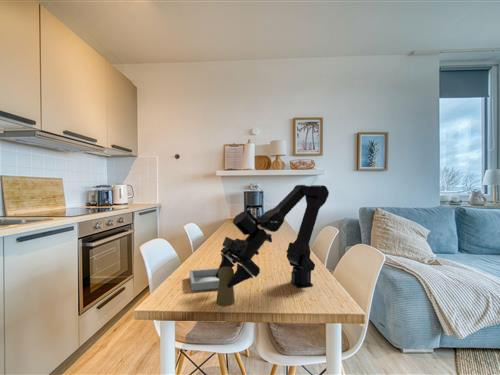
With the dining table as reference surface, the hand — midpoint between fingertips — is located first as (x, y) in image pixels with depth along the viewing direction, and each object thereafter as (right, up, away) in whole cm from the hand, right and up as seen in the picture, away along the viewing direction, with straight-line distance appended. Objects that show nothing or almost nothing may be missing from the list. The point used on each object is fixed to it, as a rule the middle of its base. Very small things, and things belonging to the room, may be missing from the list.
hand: (221, 281), depth 79 cm
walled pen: (-7, -7, +16) cm, 19 cm away
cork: (+1, -7, +1) cm, 7 cm away
